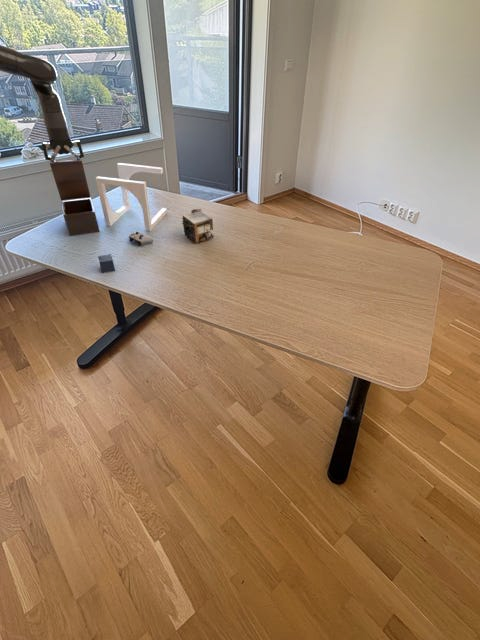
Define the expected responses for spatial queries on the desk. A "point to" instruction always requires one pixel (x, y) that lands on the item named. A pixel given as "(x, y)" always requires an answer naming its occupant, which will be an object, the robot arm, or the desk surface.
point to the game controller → (140, 238)
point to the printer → (197, 225)
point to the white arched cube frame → (128, 185)
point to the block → (106, 263)
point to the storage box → (80, 216)
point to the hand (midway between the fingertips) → (68, 169)
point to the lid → (70, 179)
